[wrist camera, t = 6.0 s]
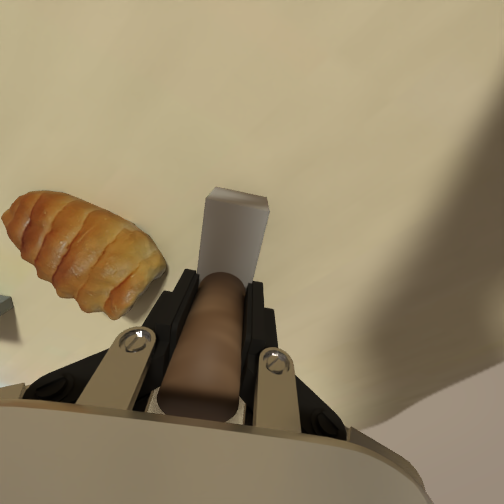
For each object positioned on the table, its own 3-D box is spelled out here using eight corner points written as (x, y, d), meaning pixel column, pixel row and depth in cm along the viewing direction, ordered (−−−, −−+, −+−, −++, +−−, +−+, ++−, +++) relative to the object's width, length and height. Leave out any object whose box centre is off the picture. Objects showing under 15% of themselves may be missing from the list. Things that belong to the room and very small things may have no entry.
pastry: (16, 236, 16) (-50, 261, 13) (50, 157, 14) (-17, 162, 10) (136, 306, 19) (109, 343, 15) (181, 249, 16) (162, 278, 13)
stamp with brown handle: (266, 197, 13) (284, 282, 5) (236, 324, 18) (221, 479, 10) (215, 186, 13) (153, 258, 5) (198, 318, 17) (148, 471, 9)
